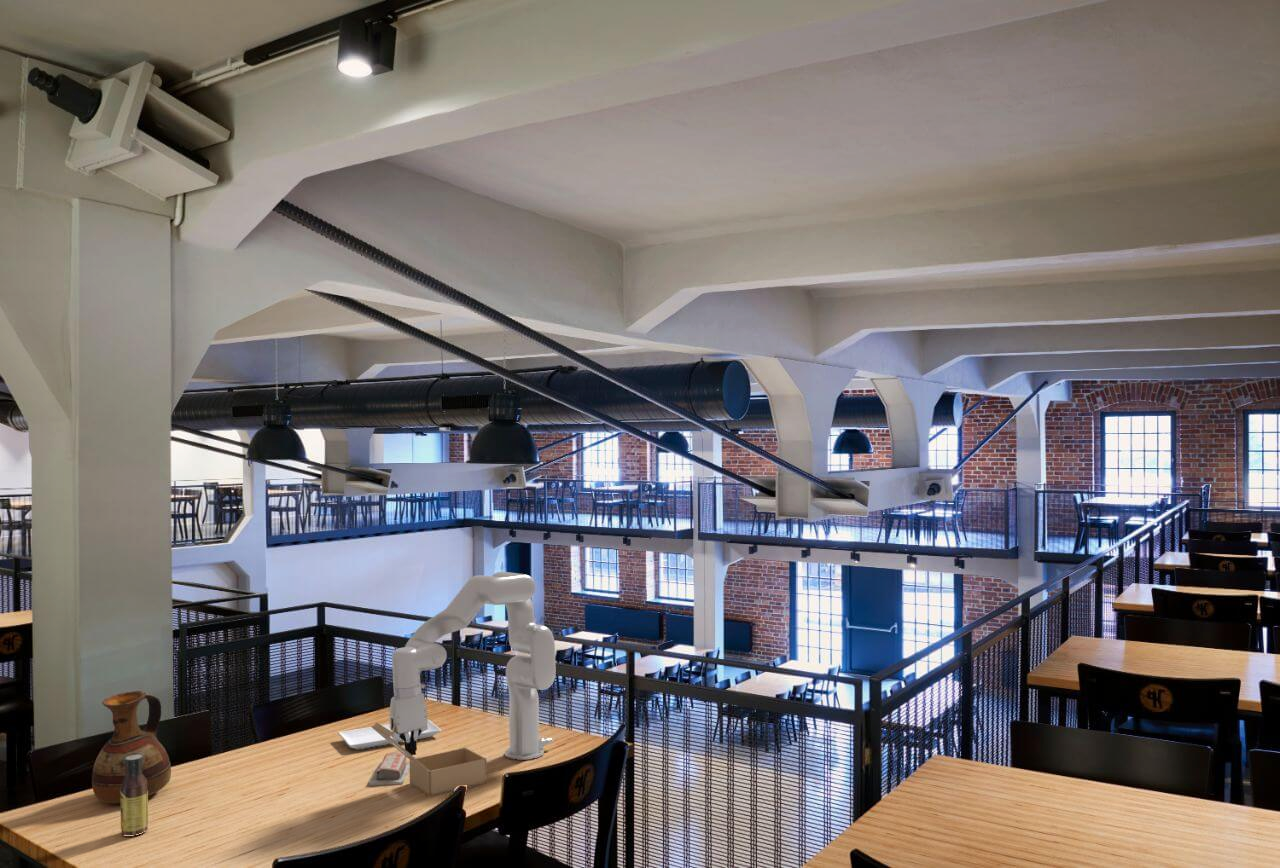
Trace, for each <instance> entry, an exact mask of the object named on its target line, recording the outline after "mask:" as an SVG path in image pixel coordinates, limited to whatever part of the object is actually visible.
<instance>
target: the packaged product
mask: <svg viewBox="0 0 1280 868" xmlns="http://www.w3.org/2000/svg"><path fill="white" fill-rule="evenodd" d="M409 773H410V761H409V762H407V757H406V756H405V755H403V754H402V753H401V752H391V753H386V754H385V755H384V756H383V759H382V761H381V762H379V764H378V765H377V767H376V769H375V770H374V772H373V775H371V777H370V779H369V781H368V785H369V786H370V787H371V786H375V787H376V786H392V785H394V786H395V785H396V786H397V785H403V784H404V782H405V780H406V777H407V775H408V774H409Z"/></svg>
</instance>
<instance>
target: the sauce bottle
mask: <svg viewBox="0 0 1280 868" xmlns="http://www.w3.org/2000/svg"><path fill="white" fill-rule="evenodd" d="M142 761H143V756H142V755H131V756H128V757H126V758H125V765H126V773H125V774H126V775H125V778H124V781H123V784H122V786H121V789H120V797H121V803H120V830H121V835H122V836H123V835H136V834H139V833H142V832H144V831H146V830H147V831H148V827H149V826H148V825H149V799H148V798H149V796H148V790H147V780H146V778H145V777H144V775H143V774H142ZM147 831H146V832H147Z"/></svg>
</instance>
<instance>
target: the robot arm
mask: <svg viewBox="0 0 1280 868" xmlns="http://www.w3.org/2000/svg"><path fill="white" fill-rule="evenodd" d="M536 589H537V587H536V583H535V580H534V578H533V577H531V576H530V575H528V574H524V573H518V572H517V573H516V572H508V571H497V572H495V573H493V574H492V575H491V576H490V575H481V574H479V575H478V574H477V575H474V576H472V577H470V578H469V579H468V581H466V583H464V585H463V586H462V587H461V589H460V591H458V593H457V594H456V595H455V596H454V597H453V599H452V600H451V601H450V603H449V604H448V606H446V608H444V609H443V610H441V611H440V612H438V613H437V614H436V615H433V617H431V618H429V619H428V620H426V621H425V622H424V623H423V624H421V625H420V626H419V627H418V628H417V629H416V630H415V631H414V632H413V634H412V635H411V636H410V638H409V639H408V640H407V642H406V644H405V645H404V647H399V648H397V649H394V650H393V651H392V653H391V665H392V683H393V696H392V697H391V699H390V705H389V706H390V707H389V724H390V730H391V731H392V732H393V734H392V735H391V737H392V738H401V739H402V740H404V742H403V743H404V749H405V750H406V751H407V752H409V753H410V754H411V755H412V756H416V755H417V753H416V752H417V750H418V745H417V741H419V740H418V737H419V735H420V734H421V732H424V731H425V730H427V729H428V726H427V724H428V720H429V719H428V711H427V704H426V699H425V696H424V693H423V692H422V689H425V688H426V685H425V683H422V682H421V675H420V673H421V672H422V671H423V672H424V671H430V670H436V669H439V668H440V667H442V666H443V665H444V664H445V662H446V660H447V658H448V655H447V654H448V653H447V651H446V649H445V647H444V646H442V645H441V644H439V643H436V642H437V641H438V640H439V639H440V638H443V637H444V636H446V635H448V634H451V633H455V632H458V631H460V630H463V629H465V628H467V627H468V626H469V625H470V623H471V622H472V621H473V620H474V619H475V617H476V615H478V613H479V612H480V610H481V609H482V608H483V606H485V605H486V604H487V605H494V606H497V605H498V606H501V605H502V606H503V605H504V606H505V608H506V611H507V626H508V627H507V628H508V643H509V646H510V649H512V650H514V651H515V652H518V653H524V654H529V655H523V654H522V655H521V654H520V655H515V656H513V657H511V658H510V659H509V660H508V662H507V664H506V666H505V677H506V682H507V683H506V684H507V687H508V688H507V689H508V702H509V703H508V705H509V706H508V712H509V713H508V714H509V715H508V716H509V719H508V720H509V723H508V724H509V734H508V735H509V747H508V748H506V749H505V750H504V756H505V757H506V758H508V759H510V758H511V760H515V759H517V761H518V760H519V761H524V760H534V759H537V758H539V757H542V756H543V755H544V754H545V749H544V748H543V747H545V746H546V745H551V744H553V739H552V737H547V738H545V737H540V722H539V721H540V717H539V716H540V713H539V712H540V711H539V710H540V708H539V707H540V706H539V705H540V703H539V702H540V700H539V699H540V697H539V694H538V690H540V691H543V690H544V691H545V690H547V689H549V688H550V687H551V686H552V685H553V684H554V682H555V678H556V674H557V673H556V672H557V671H556V666H557V664H556V646H555V645H556V643H555V637H554V635H553V632H552V630H551V629H550V628H549V627H547V626H546V625H542V624H537V623H536V619H535V611H534V609H535V608H534V604H533V601H532V597H534V595H535V593H536ZM410 731H411V733H410V736H409V732H410ZM533 758H534V759H533Z"/></svg>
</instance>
